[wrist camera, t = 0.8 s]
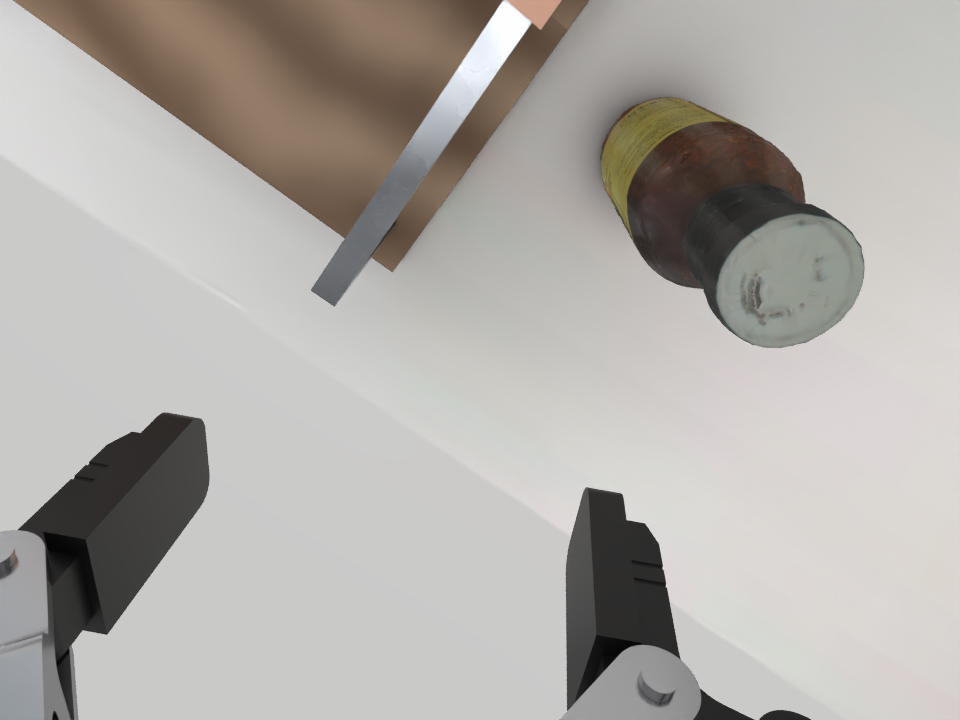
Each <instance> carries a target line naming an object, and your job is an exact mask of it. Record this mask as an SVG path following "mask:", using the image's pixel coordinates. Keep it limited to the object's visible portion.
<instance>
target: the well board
mask: <svg viewBox="0 0 960 720" xmlns="http://www.w3.org/2000/svg"><path fill="white" fill-rule="evenodd" d="M13 1H15V2H16V3H17V4H19V5H20V6H22V7H23V8H24V9H26V10H27V11H29V12H30V13H31V14H33V15H34V16H36V17H37V18H38V19H40V20H41V21H43V22H44V23H45V24H47V25H48V26H49V27H51V28H52V29H54V30H55V31H56V32H58V33H59V34H61V35H62V36H63V37H65V38H66V39H68V40H69V41H70V42H72V43H73V44H75V45H76V46H77V47H79V48H80V49H82V50H83V51H84V52H86V53H87V54H89V55H90V56H91V57H93V58H94V59H96V60H97V61H98V62H100V63H101V64H103V65H104V66H105V67H107V68H108V69H109V70H111V71H112V72H114V73H115V74H116V75H118V76H119V77H121V78H122V79H123V80H125V81H126V82H128V83H129V84H130V85H132V86H133V87H135V88H136V89H137V90H139V91H140V92H142V93H143V94H144V95H146V96H147V97H149V98H150V99H151V100H153V101H154V102H156V103H157V104H158V105H160V106H161V107H162V108H164V109H165V110H167V111H168V112H169V113H171V114H172V115H174V116H175V117H176V118H178V119H179V120H181V121H182V122H183V123H185V124H186V125H188V126H189V127H190V128H192V129H193V130H195V131H196V132H197V133H199V134H200V135H202V136H203V137H204V138H206V139H207V140H209V141H210V142H211V143H213V144H214V145H216V146H217V147H218V148H220V149H221V150H222V151H224V152H225V153H227V154H228V155H229V156H231V157H232V158H234V159H235V160H236V161H238V162H239V163H241V164H242V165H243V166H245V167H246V168H248V169H249V170H250V171H252V172H253V173H255V174H256V175H257V176H259V177H260V178H262V179H263V180H264V181H266V182H267V183H269V184H270V185H271V186H273V187H274V188H275V189H277V190H278V191H280V192H281V193H282V194H284V195H285V196H287V197H288V198H289V199H291V200H292V201H294V202H295V203H296V204H298V205H299V206H301V207H302V208H303V209H305V210H306V211H308V212H309V213H310V214H312V215H313V216H315V217H316V218H317V219H319V220H320V221H322V222H323V223H324V224H326V225H327V226H329V227H330V228H331V229H333V230H334V231H335V232H337V233H338V234H340V235H341V236H342V237H344V238H346V236H347V235H348V233H349V232H350V230H351V229H352V227H353V226H354V224H355V223H356V221H357V220H358V218H359V217H360V215H361V214H362V212H363V211H364V209H365V208H366V206H367V205H368V203H369V202H370V200H371V199H372V197H373V196H374V194H375V193H376V191H377V190H378V188H379V187H380V185H381V184H382V182H383V181H384V179H385V178H386V176H387V175H388V173H389V172H390V170H391V169H392V167H393V166H394V164H395V163H396V161H397V160H398V158H399V157H400V155H401V154H402V152H403V151H404V149H405V148H406V146H407V145H408V143H409V142H410V140H411V139H412V137H413V135H414V134H415V132H416V131H417V129H418V128H419V126H420V125H421V123H422V122H423V120H424V119H425V117H426V116H427V114H428V113H429V111H430V110H431V108H432V107H433V105H434V104H435V102H436V101H437V99H438V98H439V96H440V95H441V93H442V92H443V90H444V89H445V87H446V86H447V84H448V83H449V81H450V80H451V78H452V77H453V75H454V74H455V72H456V71H457V69H458V68H459V66H460V65H461V63H462V62H463V60H464V59H465V57H466V56H467V54H468V53H469V51H470V50H471V48H472V47H473V45H474V44H475V42H476V41H477V39H478V38H479V36H480V35H481V33H482V32H483V30H484V29H485V27H486V25H487V24H488V22H489V21H490V19H491V18H492V16H493V15H494V13H495V12H496V10H497V9H498V7H499V6H500V4H501V3H502V1H503V0H13ZM588 1H589V0H562V1H561V2H560V4H559V5H558V6H557V8H556V9H555V11H554V12H553V14H552V15H551V16H550V18H549V19H548V21H547V22H546V23H545V25H544V26H543V28H542V29H541V30H540V29H539V28H538V27H537V26H536V25H534V24H533V23H532V24H531V25H530V27H529V28H528V29H527V31H526V32H525V34H524V35H523V37H522V38H521V40H520V41H519V42H518V44H517V45H516V47H515V48H514V50H513V51H512V53H511V54H510V55H509V57H508V58H507V60H506V61H505V63H504V64H503V65H502V67H501V68H500V70H499V71H498V73H497V74H496V76H495V77H494V78H493V80H492V81H491V83H490V84H489V86H488V87H487V89H486V90H485V91H484V93H483V94H482V96H481V97H480V99H479V100H478V101H477V103H476V104H475V106H474V107H473V109H472V110H471V112H470V113H469V114H468V116H467V117H466V119H465V120H464V122H463V123H462V124H461V126H460V127H459V129H458V130H457V132H456V133H455V135H454V136H453V137H452V139H451V140H450V142H449V143H448V145H447V146H446V148H445V149H444V150H443V152H442V153H441V155H440V156H439V158H438V159H437V160H436V162H435V163H434V165H433V166H432V168H431V169H430V171H429V172H428V173H427V175H426V176H425V178H424V179H423V181H422V182H421V184H420V185H419V186H418V188H417V189H416V191H415V192H414V194H413V195H412V196H411V198H410V199H409V201H408V202H407V204H406V205H405V207H404V208H403V209H402V211H401V212H400V214H399V215H398V217H397V218H396V219H395V222H396V225H395V226H394V228H393V229H392V230H391V232H390V233H389V235H388V236H387V238H386V239H385V240H384V242H383V243H382V244H381V246H380V247H379V248H378V250H377V251H376V252H375V254H374V255H373V256H372V258H373V259H375V260H376V261H377V262H379V263H380V264H382V265H383V266H384V267H386V268H387V269H388V270H390V271H391V272H393V271H394V269H395V268H396V267H397V265H398V264H399V262H400V261H401V260H402V258H403V257H404V255H405V254H406V253H407V251H408V250H409V249H410V247H411V246H412V244H413V243H414V242H415V240H416V239H417V238H418V236H419V235H420V233H421V232H422V231H423V229H424V228H425V226H426V225H427V224H428V222H429V221H430V220H431V218H432V217H433V215H434V214H435V213H436V211H437V210H438V209H439V207H440V206H441V204H442V203H443V202H444V200H445V199H446V197H447V196H448V195H449V193H450V192H451V191H452V189H453V188H454V186H455V185H456V184H457V182H458V181H459V180H460V178H461V177H462V175H463V174H464V173H465V171H466V170H467V168H468V167H469V166H470V164H471V163H472V162H473V160H474V159H475V157H476V156H477V155H478V153H479V152H480V150H481V149H482V148H483V146H484V145H485V144H486V142H487V141H488V139H489V138H490V137H491V135H492V134H493V133H494V131H495V130H496V128H497V127H498V126H499V124H500V123H501V121H502V120H503V119H504V117H505V116H506V115H507V113H508V112H509V110H510V109H511V108H512V106H513V105H514V104H515V102H516V101H517V99H518V98H519V97H520V95H521V94H522V92H523V91H524V90H525V88H526V87H527V86H528V84H529V83H530V81H531V80H532V79H533V77H534V76H535V74H536V73H537V72H538V70H539V69H540V68H541V66H542V65H543V63H544V62H545V61H546V59H547V58H548V57H549V55H550V54H551V52H552V51H553V50H554V48H555V47H556V45H557V44H558V43H559V41H560V40H561V39H562V37H563V36H564V34H565V33H566V32H567V30H568V29H569V28H570V26H571V25H572V23H573V22H574V21H575V19H576V18H577V16H578V15H579V14H580V12H581V11H582V10H583V8H584V7H585V5H586V4H587V3H588Z"/></svg>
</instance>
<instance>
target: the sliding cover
mask: <svg viewBox="0 0 960 720" xmlns="http://www.w3.org/2000/svg"><path fill="white" fill-rule="evenodd" d="M507 1H508V2H509V3H510V4H511V5H512V6H513V7H515V8H516V9H517V10H518V11H519V12H520V13H522V14H523V15H524V16H525V17H526V18H527V19H529V20H530V21H531V22H532V23H533V24H534V25H536V26H537V27H538V28H539V29H540V30H541V29H542V28H543V26H544V25H545V23H546V22H547V21H548V19H549V18H550V16H551V15H552V14H553V12H554V11H555V9H556V8H557V6H558V5H559V4H560V2H561V1H562V0H507Z"/></svg>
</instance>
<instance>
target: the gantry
mask: <svg viewBox="0 0 960 720" xmlns="http://www.w3.org/2000/svg"><path fill="white" fill-rule="evenodd" d="M531 24H532V22H531V21H530V20H529V19H527V18H526V17H525V16H524V15H523V14H522V13H520V12H519V11H518V10H517V9H516V8H515V7H513V6H512V5H511V4H510V3H509V2H508V1H507V0H503V1H502V3H501V4H500V6H499V7H498V9H497V10H496V12H495V13H494V15H493V16H492V18H491V19H490V21H489V22H488V24H487V25H486V27H485V29H484V30H483V32H482V33H481V35H480V36H479V38H478V39H477V41H476V42H475V44H474V45H473V47H472V48H471V50H470V51H469V53H468V54H467V56H466V57H465V59H464V60H463V62H462V63H461V65H460V66H459V68H458V69H457V71H456V72H455V74H454V75H453V77H452V78H451V80H450V81H449V83H448V84H447V86H446V87H445V89H444V90H443V92H442V93H441V95H440V96H439V98H438V99H437V101H436V102H435V104H434V105H433V107H432V108H431V110H430V111H429V113H428V114H427V116H426V117H425V119H424V120H423V122H422V123H421V125H420V126H419V128H418V129H417V131H416V132H415V134H414V135H413V137H412V139H411V140H410V142H409V143H408V145H407V146H406V148H405V149H404V151H403V152H402V154H401V155H400V157H399V158H398V160H397V161H396V163H395V164H394V166H393V167H392V169H391V170H390V172H389V173H388V175H387V176H386V178H385V179H384V181H383V182H382V184H381V185H380V187H379V188H378V190H377V191H376V193H375V194H374V196H373V197H372V199H371V200H370V202H369V203H368V205H367V206H366V208H365V209H364V211H363V212H362V214H361V215H360V217H359V218H358V220H357V221H356V223H355V224H354V226H353V227H352V229H351V230H350V232H349V233H348V235H347V236H346V238H345V239H344V241H343V242H342V244H341V245H340V247H339V249H338V250H337V252H336V253H335V255H334V256H333V258H332V259H331V261H330V262H329V264H328V265H327V267H326V268H325V270H324V271H323V273H322V274H321V276H320V277H319V279H318V280H317V282H316V283H315V285H314V286H313V288H312V289H311V291H312V292H314V293H315V294H317V295H318V296H320V297H321V298H323V299H324V300H326V301H327V302H328V303H330V304H331V305H333V306H334V307H335V305H336V304H337V303H338V301H339V300H340V299H341V297H342V296H343V295H344V293H345V292H346V291H347V289H348V288H349V287H350V285H351V284H352V283H353V281H354V280H355V279H356V277H357V276H358V275H359V273H360V272H361V271H362V270H363V268H364V267H365V266H366V264H367V263H368V262H369V260H370V259H371V258H372V256H373V255H374V254H375V252H376V251H377V250H378V248H379V247H380V246H381V244H382V243H383V242H384V240H385V239H386V238H387V236H388V235H389V233H390V232H391V230H392V229H393V228H394V226H395V225H396V222H395V219H396V218H397V217H398V215H399V214H400V212H401V211H402V209H403V208H404V207H405V205H406V204H407V202H408V201H409V199H410V198H411V196H412V195H413V194H414V192H415V191H416V189H417V188H418V186H419V185H420V184H421V182H422V181H423V179H424V178H425V176H426V175H427V173H428V172H429V171H430V169H431V168H432V166H433V165H434V163H435V162H436V160H437V159H438V158H439V156H440V155H441V153H442V152H443V150H444V149H445V148H446V146H447V145H448V143H449V142H450V140H451V139H452V137H453V136H454V135H455V133H456V132H457V130H458V129H459V127H460V126H461V124H462V123H463V122H464V120H465V119H466V117H467V116H468V114H469V113H470V112H471V110H472V109H473V107H474V106H475V104H476V103H477V101H478V100H479V99H480V97H481V96H482V94H483V93H484V91H485V90H486V89H487V87H488V86H489V84H490V83H491V81H492V80H493V78H494V77H495V76H496V74H497V73H498V71H499V70H500V68H501V67H502V65H503V64H504V63H505V61H506V60H507V58H508V57H509V55H510V54H511V53H512V51H513V50H514V48H515V47H516V45H517V44H518V42H519V41H520V40H521V38H522V37H523V35H524V34H525V32H526V31H527V29H528V28H529V27H530V25H531Z"/></svg>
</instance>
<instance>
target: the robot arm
mask: <svg viewBox="0 0 960 720" xmlns="http://www.w3.org/2000/svg"><path fill="white" fill-rule="evenodd" d="M208 486H209V465H208V454H207V443H206V433H205V425H204V422H203V421H202V420H201V419H199V418H194V417H188V416H183V415H177V414H172V413H162V414H160V415H159V416H158V417H156V418H155V419H154V421H153V422H151V423H150V425H149V426H147V427H146V428H145V429H144V431H142V432H141V433H137V432H131V433H129V434H127V435H125V436H123V437H121V438H119V439H117V440H115V441H113V442H112V443H110V444H108V445H106V446H105V447H104V448H103V449H102V450H101V451H100V452H99V453H98V454H97V455H96V456H95V457H94V458H93V459H92V460H91V461H90V462H89V465H85V466H84V467H83V468H82V469H81V470H80V471H79V472H78V473H77V474H76V475H75V478H74V479H71V480H70V481H69V482H68V483H66V484H65V485H64V486H63V487H62V488H61V489H60V490H59V491H58V492H57V493H56V494H55V495H54V496H53V497H52V498H51V499H50V500H49V501H48V502H47V503H45V504H44V505H43V506H42V507H41V508H40V509H39V510H38V511H37V512H36V513H35V514H34V515H33V516H32V517H31V518H30V519H29V520H28V521H27V522H26V523H24V524H23V526H21V527H20V528H19V529H18V530H11V531H2V532H0V720H78V709H77V695H76V683H75V682H76V681H75V667H74V655H73V649H72V646H71V645H72V643H73V642H74V641H75V639H76V638H77V637H78V635H79V634H80V633H81V631H82V630H85V631H90V632H96V633H101V634H106V635H107V634H108V633H109V631H110V630H111V629H112V627H113V626H114V624H115V623H116V622H117V620H118V619H119V618H120V616H121V615H122V614H123V612H124V611H125V609H126V608H127V606H128V605H129V604H130V602H131V601H132V600H133V598H134V597H135V596H136V594H137V593H138V592H139V590H140V589H141V587H142V586H143V585H144V583H145V582H146V581H147V579H148V578H149V576H150V575H151V574H152V572H153V571H154V569H155V568H156V567H157V566H158V564H159V563H160V561H161V560H162V559H163V557H164V556H165V554H166V553H167V552H168V550H169V549H170V547H171V546H172V545H173V544H174V542H175V540H176V539H177V538H178V537H179V535H180V534H181V533H182V531H183V530H184V528H185V527H186V526H187V524H188V523H189V521H190V520H191V519H192V518H193V516H194V515H195V513H196V512H197V510H198V509H199V508H200V506H201V505H202V503H203V501H204V499H205V497H206V494H207V491H208ZM662 567H663V564H662V559H661V553H660V548H659V544H658V542H657V541H656V539H655V538H654V536H653V535H652V533H651V532H650V530H649V529H648V527H647V526H646V524H645V523H639V522H633V521H628V520H626V514H625V506H624V499H623V495H622V494H621V493H615V492H610V491H604V490H598V489H593V488H587V487H586V488H585V490H584V492H583V495H582V499H581V503H580V506H579V510H578V514H577V517H576V521H575V525H574V528H573V532H572V536H571V540H570V544H569V549H568V555H567V563H566V623H567V624H566V631H567V632H566V634H567V712H566V713H565V714H564V715H563V716H562V718H561V719H560V720H754V719H752V718H749V717H747V716H745V715H743V714H741V713H739V712H737V711H735V710H733V709H731V708H729V707H727V706H725V705H723V704H721V703H719V702H718V701H716V700H714V699H713V698H711V697H710V696H708V695H707V694H706V693H705V692H704V691H702V690H701V689H700V688H699V685H698V682H697V680H696V678H695V677H694V675H693V674H692V672H691V670H690V669H689V668H688V667H687V666H686V665H685V664H684V663H683V662H682V661H681V659H680V656H679V651H678V646H677V641H676V635H675V629H674V624H673V619H672V613H671V608H670V602H669V597H668V591H667V588H666V581H665V575H664V570H662ZM760 720H811V719H809V718H807V717H805V716H803V715H800V714H798V713H795V712H791V711H784V710H776V711H772V712H769V713H766V714H765V715H763V716H762V717H761V718H760Z"/></svg>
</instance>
